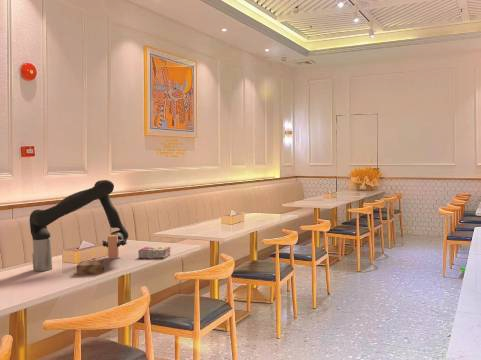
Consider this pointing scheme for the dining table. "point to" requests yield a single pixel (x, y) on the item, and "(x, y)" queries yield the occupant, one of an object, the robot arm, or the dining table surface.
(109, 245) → the terracotta block
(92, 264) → the walnut block
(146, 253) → the candy bar box
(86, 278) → the dining table surface
